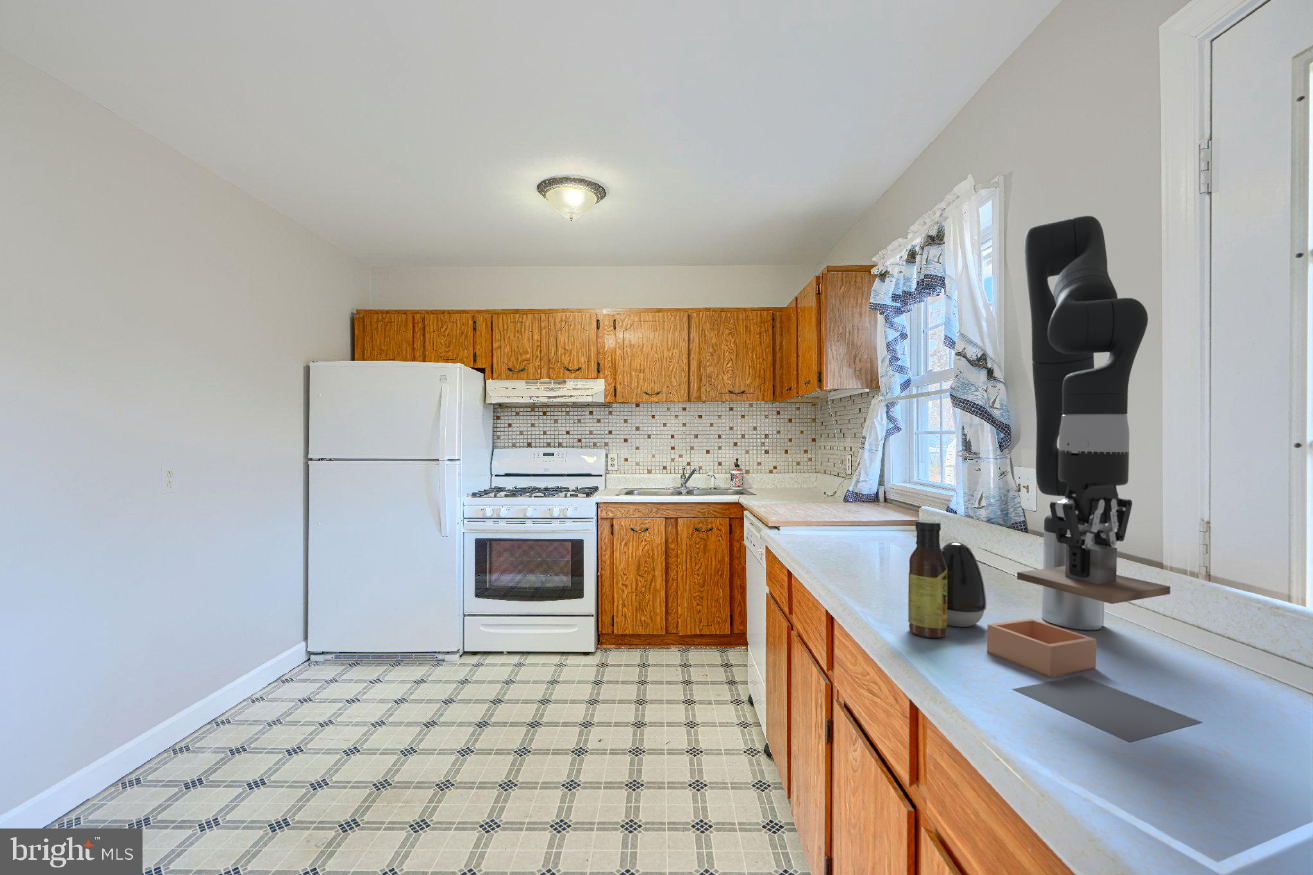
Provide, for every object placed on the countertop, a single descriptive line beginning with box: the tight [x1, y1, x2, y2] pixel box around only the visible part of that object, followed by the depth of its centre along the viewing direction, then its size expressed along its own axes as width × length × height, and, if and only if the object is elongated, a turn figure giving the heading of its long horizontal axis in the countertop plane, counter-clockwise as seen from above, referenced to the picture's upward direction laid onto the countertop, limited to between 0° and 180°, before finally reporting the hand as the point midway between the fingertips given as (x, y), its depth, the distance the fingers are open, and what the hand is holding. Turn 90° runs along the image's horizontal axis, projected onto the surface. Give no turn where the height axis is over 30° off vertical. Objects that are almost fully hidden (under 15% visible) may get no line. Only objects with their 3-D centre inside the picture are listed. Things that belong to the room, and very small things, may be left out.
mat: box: [1012, 675, 1203, 743], centre depth 73 cm, size 14×14×1 cm
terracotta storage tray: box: [986, 618, 1097, 679], centre depth 87 cm, size 10×10×5 cm
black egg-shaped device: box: [941, 541, 988, 628], centre depth 106 cm, size 10×10×15 cm
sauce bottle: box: [907, 519, 948, 639], centre depth 100 cm, size 7×6×20 cm
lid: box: [1016, 543, 1171, 605], centre depth 76 cm, size 12×12×6 cm
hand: (1090, 573), depth 76 cm, fingers closed on lid, 4 cm apart
